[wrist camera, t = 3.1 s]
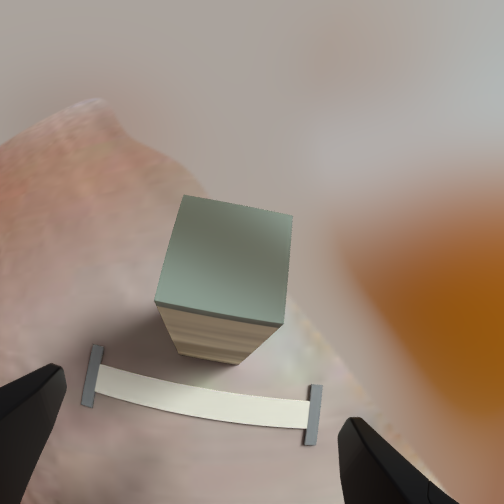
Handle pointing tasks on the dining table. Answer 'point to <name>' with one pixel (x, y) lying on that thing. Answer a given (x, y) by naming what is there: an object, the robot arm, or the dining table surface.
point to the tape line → (201, 399)
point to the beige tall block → (224, 278)
